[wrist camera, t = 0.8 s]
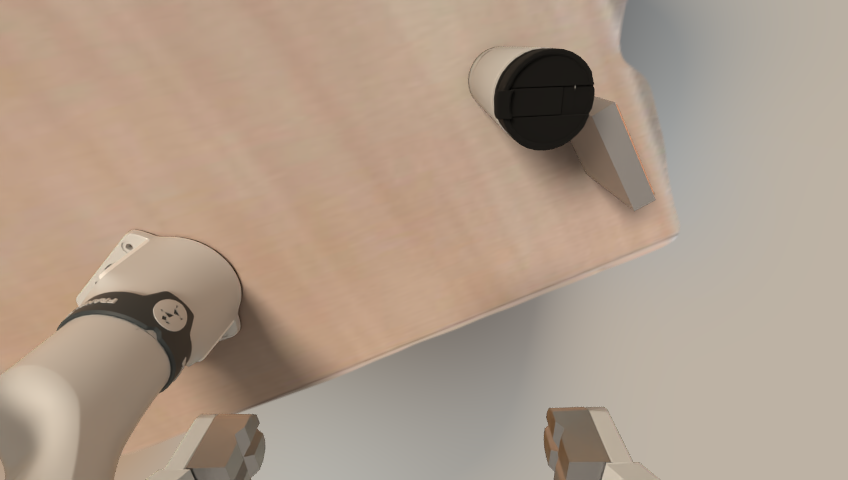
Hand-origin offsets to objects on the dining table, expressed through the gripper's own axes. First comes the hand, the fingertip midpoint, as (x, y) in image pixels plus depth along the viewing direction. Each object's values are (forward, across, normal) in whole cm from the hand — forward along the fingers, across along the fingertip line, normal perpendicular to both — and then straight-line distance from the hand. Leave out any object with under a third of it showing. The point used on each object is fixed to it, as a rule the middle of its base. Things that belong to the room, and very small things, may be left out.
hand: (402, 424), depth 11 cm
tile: (+38, +18, 0) cm, 42 cm away
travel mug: (+38, +8, +6) cm, 40 cm away
